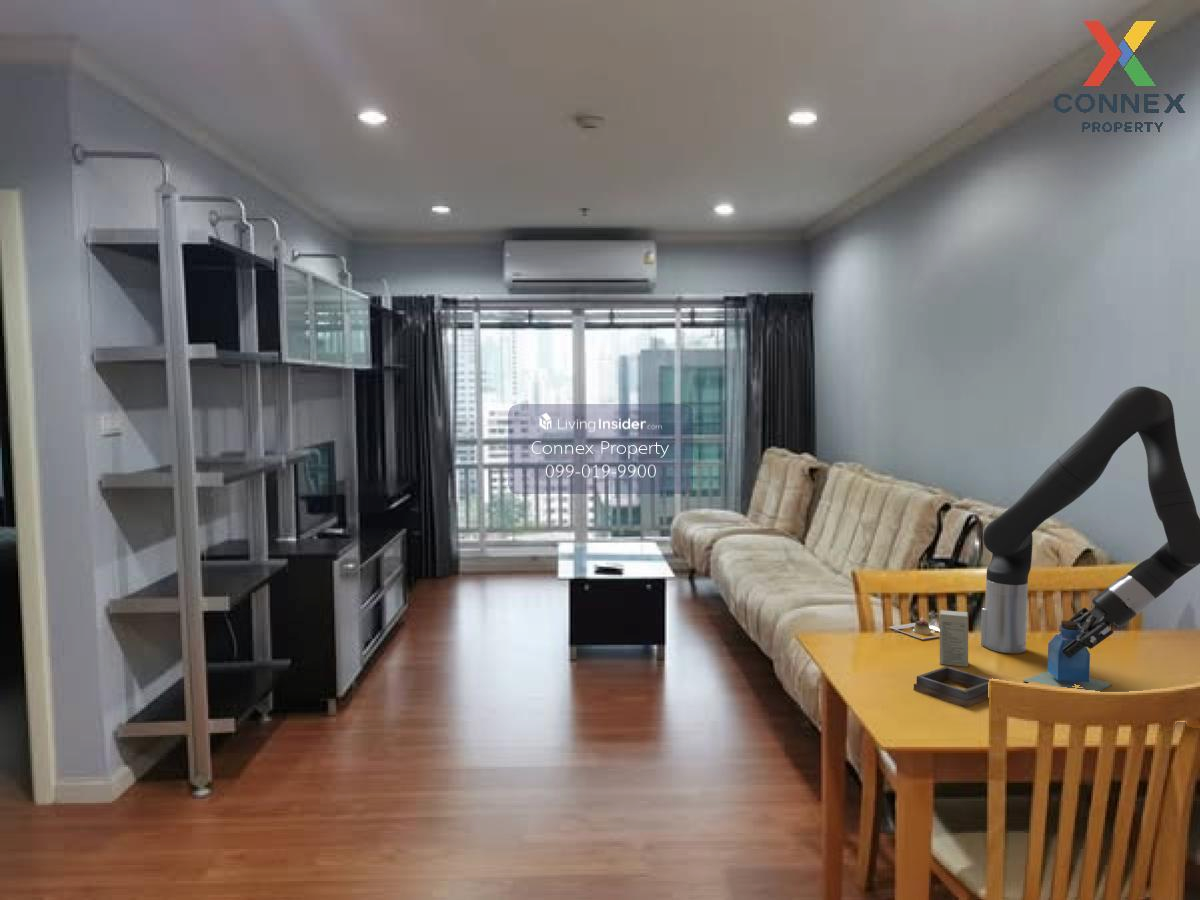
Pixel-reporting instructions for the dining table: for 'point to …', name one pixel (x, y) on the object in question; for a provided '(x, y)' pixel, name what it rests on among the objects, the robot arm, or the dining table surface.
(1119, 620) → the robot arm
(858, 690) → the dining table surface
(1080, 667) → the perfume bottle
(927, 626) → the dessert
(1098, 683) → the mat
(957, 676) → the shallow navy tray
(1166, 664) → the dining table surface
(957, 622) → the skincare box
